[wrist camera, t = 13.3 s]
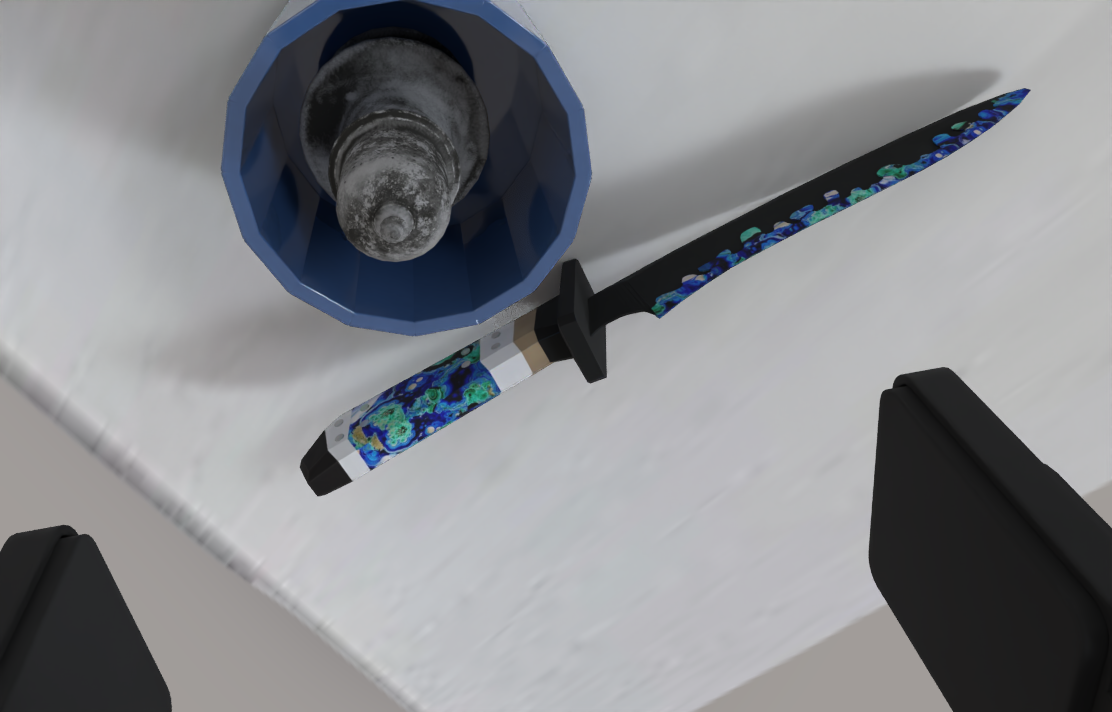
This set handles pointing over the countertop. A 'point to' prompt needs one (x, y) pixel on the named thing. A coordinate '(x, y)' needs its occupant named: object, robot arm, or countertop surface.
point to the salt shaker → (394, 139)
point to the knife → (615, 305)
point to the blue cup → (475, 222)
